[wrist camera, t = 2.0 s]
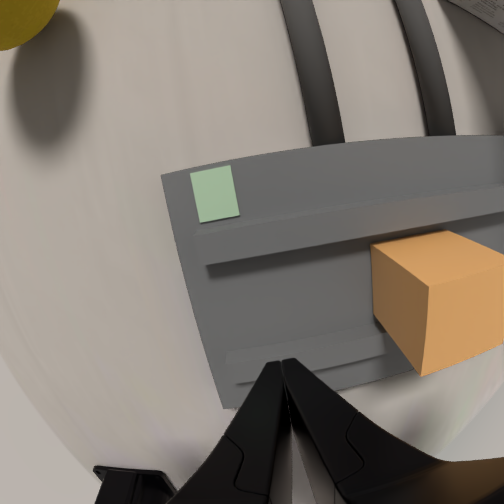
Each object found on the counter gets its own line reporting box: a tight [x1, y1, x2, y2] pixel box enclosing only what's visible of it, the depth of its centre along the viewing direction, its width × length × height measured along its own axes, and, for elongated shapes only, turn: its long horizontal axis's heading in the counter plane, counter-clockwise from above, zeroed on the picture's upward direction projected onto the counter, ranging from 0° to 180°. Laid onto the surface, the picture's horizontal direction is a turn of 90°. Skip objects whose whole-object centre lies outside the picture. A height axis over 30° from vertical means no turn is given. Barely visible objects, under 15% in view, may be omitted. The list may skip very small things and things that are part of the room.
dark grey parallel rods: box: [280, 0, 456, 147], centre depth 11 cm, size 11×7×1 cm, turn 10°
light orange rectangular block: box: [370, 229, 504, 377], centre depth 11 cm, size 3×4×5 cm
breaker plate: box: [161, 135, 504, 409], centre depth 14 cm, size 12×20×2 cm, turn 100°
